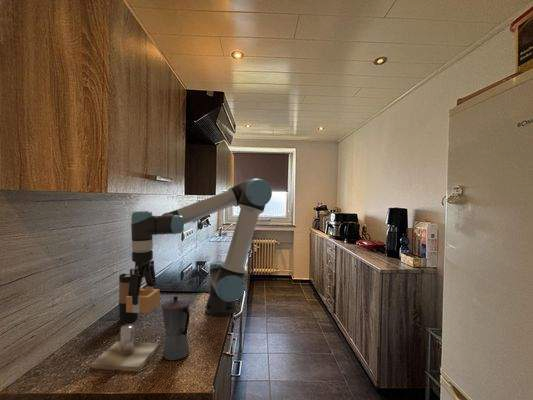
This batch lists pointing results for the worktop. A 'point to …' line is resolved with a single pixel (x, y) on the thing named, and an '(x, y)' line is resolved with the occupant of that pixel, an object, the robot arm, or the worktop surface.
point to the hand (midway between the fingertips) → (143, 307)
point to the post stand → (126, 353)
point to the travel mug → (123, 292)
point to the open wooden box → (145, 300)
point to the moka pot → (176, 329)
